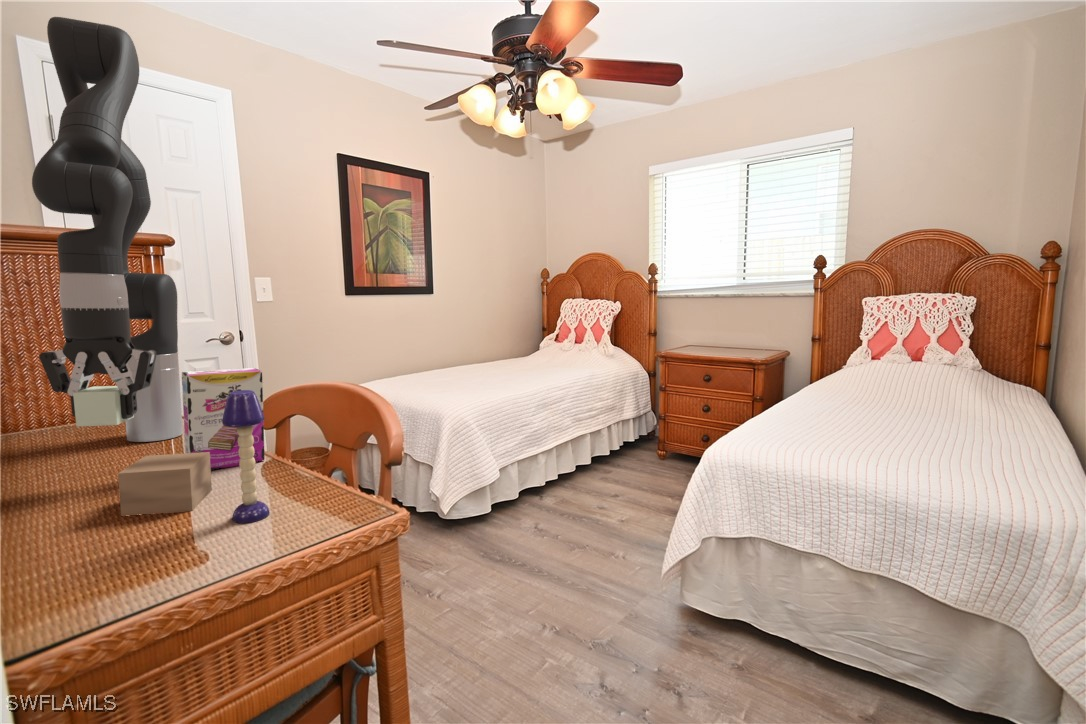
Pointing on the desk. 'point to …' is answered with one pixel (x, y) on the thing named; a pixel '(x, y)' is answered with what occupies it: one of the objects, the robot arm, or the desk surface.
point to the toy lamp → (246, 451)
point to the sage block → (98, 406)
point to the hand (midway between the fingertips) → (105, 418)
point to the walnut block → (165, 483)
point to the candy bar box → (218, 414)
